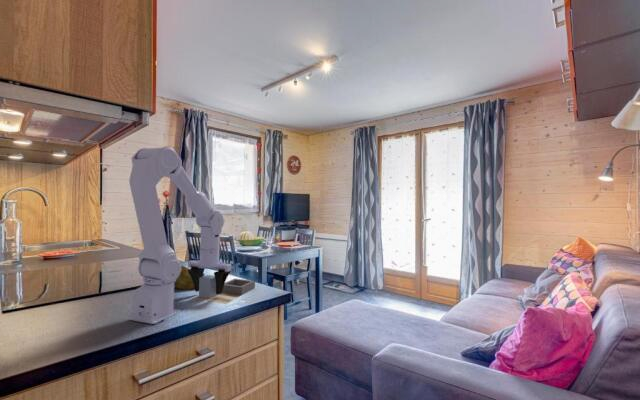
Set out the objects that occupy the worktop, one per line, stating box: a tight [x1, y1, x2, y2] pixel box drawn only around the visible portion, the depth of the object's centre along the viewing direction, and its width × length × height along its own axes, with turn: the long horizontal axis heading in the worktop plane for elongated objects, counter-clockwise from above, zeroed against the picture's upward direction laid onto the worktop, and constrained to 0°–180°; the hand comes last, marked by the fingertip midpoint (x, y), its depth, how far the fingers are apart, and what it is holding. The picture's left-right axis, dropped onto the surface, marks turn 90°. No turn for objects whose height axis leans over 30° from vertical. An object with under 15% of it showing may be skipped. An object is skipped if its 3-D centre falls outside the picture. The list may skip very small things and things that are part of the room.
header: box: [222, 278, 256, 296], centre depth 107 cm, size 9×8×2 cm
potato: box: [174, 265, 205, 291], centre depth 108 cm, size 8×13×8 cm, turn 81°
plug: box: [198, 274, 218, 299], centre depth 100 cm, size 4×4×6 cm
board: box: [191, 287, 256, 305], centre depth 103 cm, size 18×12×1 cm, turn 163°
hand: (208, 292), depth 100 cm, fingers open, 7 cm apart
